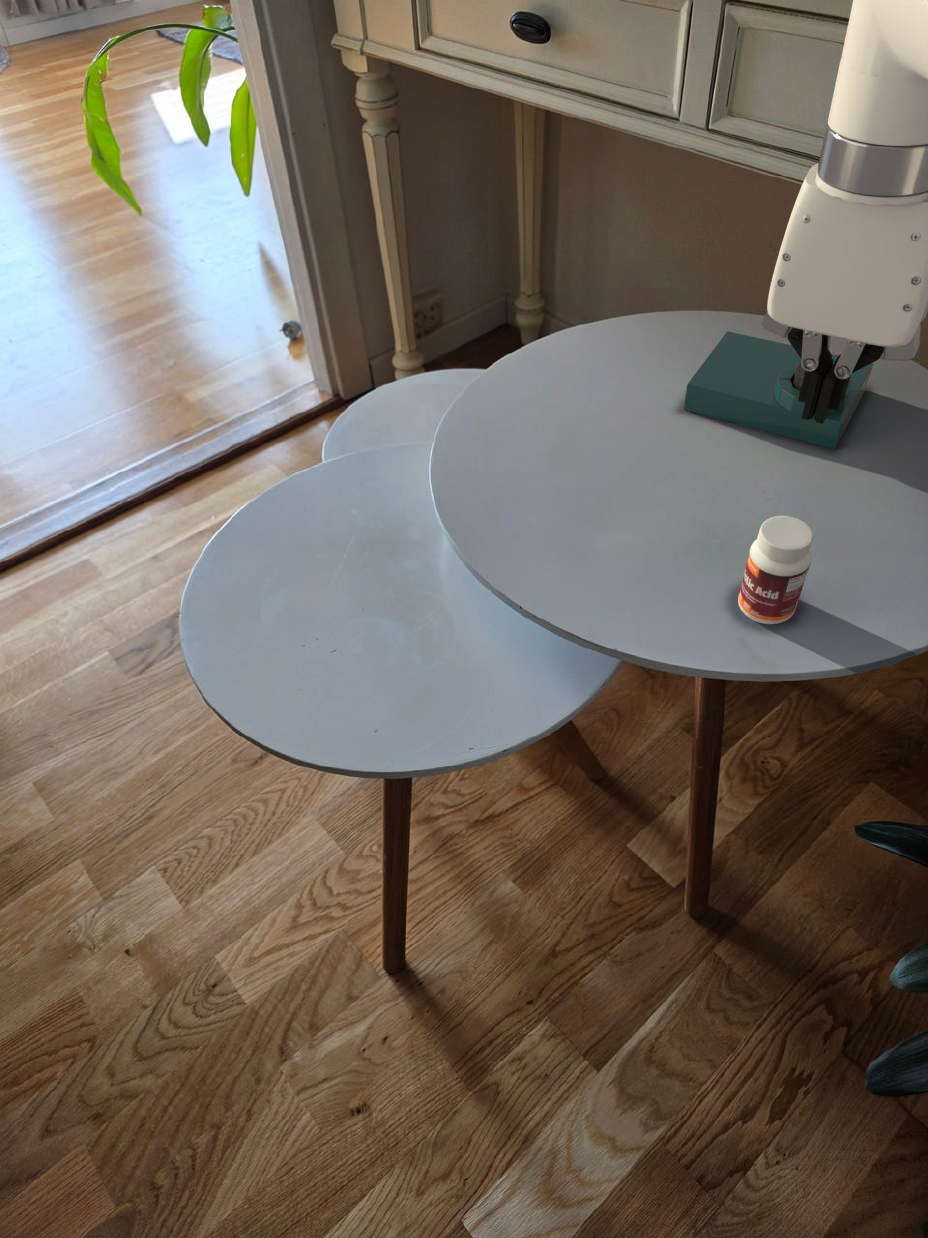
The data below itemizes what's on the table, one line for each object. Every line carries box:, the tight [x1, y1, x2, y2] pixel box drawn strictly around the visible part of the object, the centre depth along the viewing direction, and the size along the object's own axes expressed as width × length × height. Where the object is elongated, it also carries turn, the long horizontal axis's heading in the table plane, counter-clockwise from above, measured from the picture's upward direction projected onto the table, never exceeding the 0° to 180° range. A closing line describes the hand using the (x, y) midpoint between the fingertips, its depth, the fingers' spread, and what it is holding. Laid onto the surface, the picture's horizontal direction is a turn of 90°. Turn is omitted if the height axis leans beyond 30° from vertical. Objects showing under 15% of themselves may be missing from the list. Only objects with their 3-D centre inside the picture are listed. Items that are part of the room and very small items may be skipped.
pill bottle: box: [737, 515, 814, 625], centre depth 71 cm, size 5×5×8 cm
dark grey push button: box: [793, 363, 805, 391], centre depth 87 cm, size 4×4×2 cm
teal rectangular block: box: [683, 330, 875, 450], centre depth 92 cm, size 16×12×5 cm
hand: (817, 412), depth 67 cm, fingers closed
